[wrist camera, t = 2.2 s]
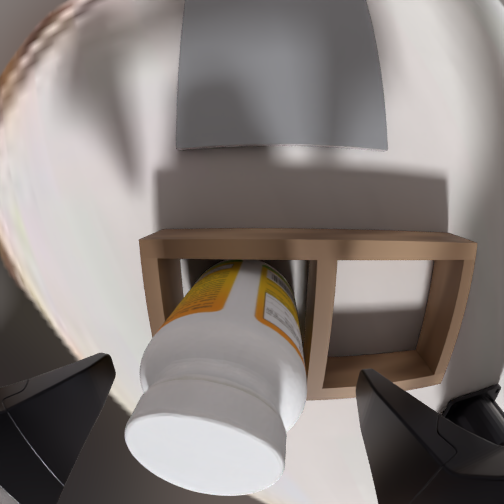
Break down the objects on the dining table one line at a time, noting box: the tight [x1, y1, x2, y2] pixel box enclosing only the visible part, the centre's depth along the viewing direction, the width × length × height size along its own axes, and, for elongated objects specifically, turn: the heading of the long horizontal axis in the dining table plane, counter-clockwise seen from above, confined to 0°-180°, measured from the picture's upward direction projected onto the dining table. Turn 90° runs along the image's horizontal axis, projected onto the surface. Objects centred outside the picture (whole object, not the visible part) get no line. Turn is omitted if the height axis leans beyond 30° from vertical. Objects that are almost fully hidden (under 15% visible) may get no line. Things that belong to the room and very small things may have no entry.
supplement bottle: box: [125, 259, 307, 496], centre depth 10 cm, size 5×5×10 cm
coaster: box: [176, 0, 388, 151], centre depth 11 cm, size 10×10×1 cm
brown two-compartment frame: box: [139, 228, 478, 400], centre depth 13 cm, size 15×8×3 cm, turn 91°
